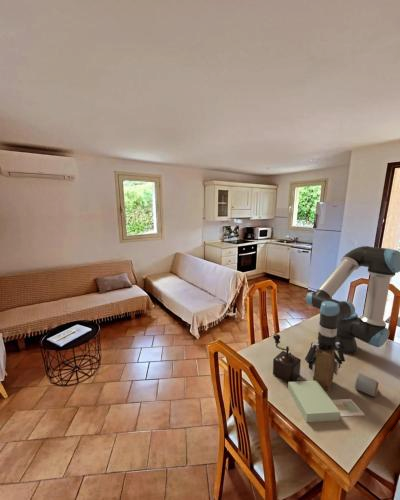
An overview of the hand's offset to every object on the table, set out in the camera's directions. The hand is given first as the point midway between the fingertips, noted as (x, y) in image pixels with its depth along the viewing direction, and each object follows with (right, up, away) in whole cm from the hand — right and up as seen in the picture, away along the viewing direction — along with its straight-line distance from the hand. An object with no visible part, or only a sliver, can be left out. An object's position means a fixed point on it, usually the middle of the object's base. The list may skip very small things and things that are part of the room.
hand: (323, 374), depth 109 cm
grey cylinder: (+18, -6, -3) cm, 19 cm away
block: (0, -5, +1) cm, 5 cm away
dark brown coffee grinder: (-17, -4, +9) cm, 20 cm away
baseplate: (-11, -7, -10) cm, 17 cm away
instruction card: (+3, -7, -13) cm, 15 cm away
